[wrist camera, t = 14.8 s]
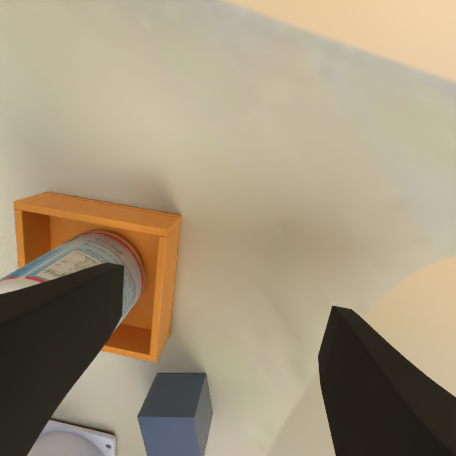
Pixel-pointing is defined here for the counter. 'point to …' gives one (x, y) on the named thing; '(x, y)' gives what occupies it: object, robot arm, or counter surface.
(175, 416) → the blue block
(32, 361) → the robot arm
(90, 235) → the pill bottle
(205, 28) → the counter surface
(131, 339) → the amber tray
